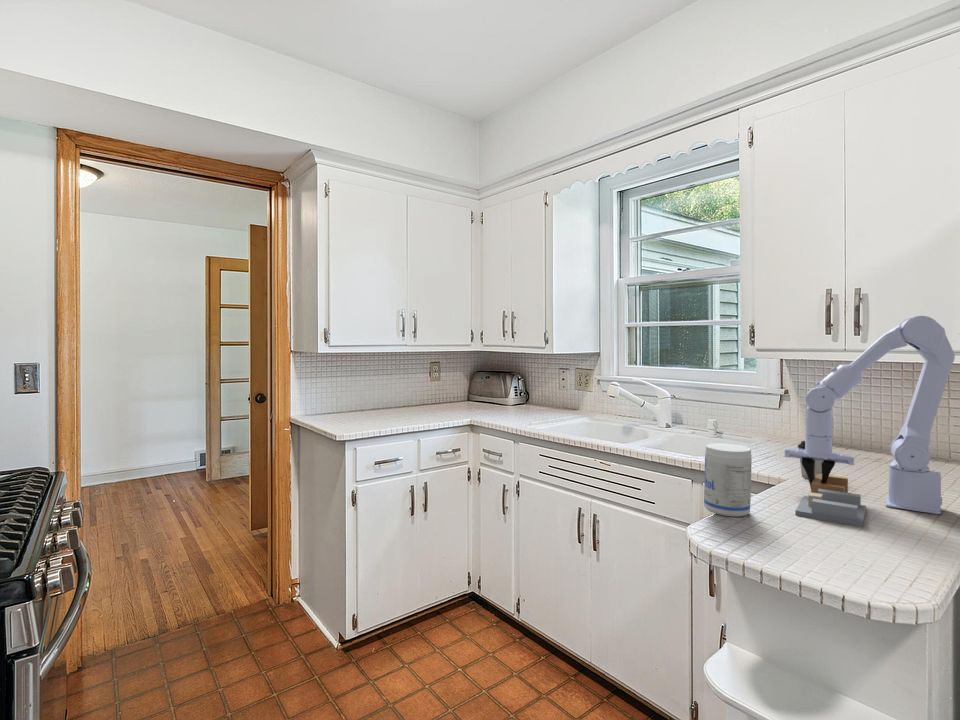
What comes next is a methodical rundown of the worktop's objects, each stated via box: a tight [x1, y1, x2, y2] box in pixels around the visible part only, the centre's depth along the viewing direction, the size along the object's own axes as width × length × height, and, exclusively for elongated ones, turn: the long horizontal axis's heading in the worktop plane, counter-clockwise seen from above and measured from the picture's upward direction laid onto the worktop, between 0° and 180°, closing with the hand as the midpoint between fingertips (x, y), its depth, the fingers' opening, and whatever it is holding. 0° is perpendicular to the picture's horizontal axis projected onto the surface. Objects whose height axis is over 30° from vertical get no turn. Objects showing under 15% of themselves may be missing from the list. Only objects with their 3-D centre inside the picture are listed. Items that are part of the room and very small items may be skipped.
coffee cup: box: [797, 440, 824, 480], centre depth 147 cm, size 7×7×10 cm
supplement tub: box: [703, 442, 753, 518], centre depth 117 cm, size 10×10×15 cm
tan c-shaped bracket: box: [810, 474, 849, 493], centre depth 128 cm, size 7×12×4 cm, turn 141°
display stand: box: [795, 489, 867, 528], centre depth 116 cm, size 12×14×4 cm
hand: (817, 489), depth 130 cm, fingers closed on tan c-shaped bracket, 2 cm apart
